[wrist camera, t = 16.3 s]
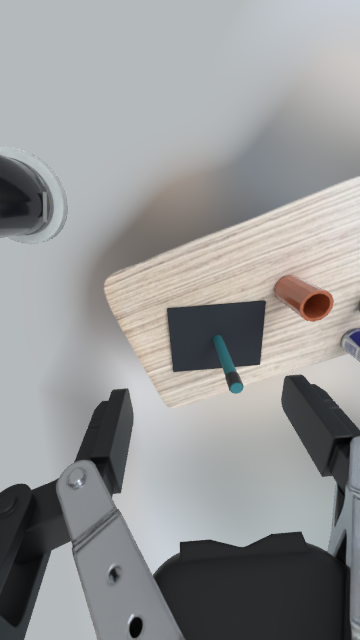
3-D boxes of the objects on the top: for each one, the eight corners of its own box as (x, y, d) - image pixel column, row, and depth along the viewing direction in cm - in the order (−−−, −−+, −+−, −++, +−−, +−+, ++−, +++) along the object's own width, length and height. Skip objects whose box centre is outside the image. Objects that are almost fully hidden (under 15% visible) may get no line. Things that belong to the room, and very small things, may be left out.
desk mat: (173, 370, 48) (173, 372, 47) (167, 308, 42) (167, 309, 41) (258, 363, 48) (259, 364, 47) (264, 300, 42) (265, 301, 42)
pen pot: (273, 302, 42) (297, 322, 34) (275, 275, 40) (302, 291, 32) (298, 299, 42) (329, 320, 34) (302, 273, 40) (336, 288, 32)
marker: (212, 343, 45) (229, 394, 32) (212, 334, 44) (229, 383, 31) (222, 342, 45) (243, 393, 32) (222, 333, 44) (244, 382, 31)
